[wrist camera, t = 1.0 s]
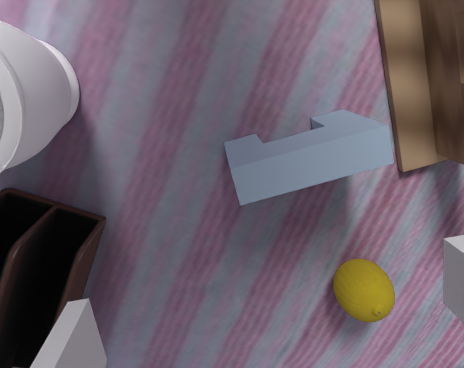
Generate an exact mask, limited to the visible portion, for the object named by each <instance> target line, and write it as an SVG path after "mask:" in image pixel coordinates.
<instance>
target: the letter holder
mask: <svg viewBox="0 0 464 368" xmlns="http://www.w3.org/2000/svg"><path fill="white" fill-rule="evenodd" d="M105 222H106V218H105V217H102V216H99V215H96V214H92V213H89V212H86V211H83V210H80V209H77V208H73V207H70V206H67V205H64V204H61V203H57V202H54V201H51V200H48V199H45V198H42V197H39V196H36V195H33V194H29V193H26V192H23V191H19V190H16V189H12V188H5V189H3V190H1V191H0V368H12V367H19V368H30V367H31V365H32V363H33V361H34V360H35V358H36V356H37V354H38V353H39V351H40V349H41V348H42V346H43V344H44V342H45V341H46V339H47V337H48V335H49V334H50V332H51V330H52V328H53V327H54V325H55V323H56V321H57V320H58V318H59V316H60V315H61V313H62V311H63V309H64V308H65V306H66V304H67V302H70V301H76V300H81V298H82V294H83V291H84V288H85V285H86V282H87V279H88V275H89V272H90V269H91V266H92V263H93V260H94V256H95V254H96V250H97V246H98V243H99V240H100V237H101V234H102V231H103V228H104V225H105Z"/></svg>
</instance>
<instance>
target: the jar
mask: <svg viewBox="0 0 464 368" xmlns="http://www.w3.org/2000/svg"><path fill="white" fill-rule="evenodd" d="M78 102H79V84H78V80H77V77H76V74H75V72H74V70H73V68H72V66H71V65H70V63H69V62H68V60H67V59H66V58H65V57H64V56H63V55H62V54H61V53H60V52H59V51H58V50H57V49H55V48H54V47H52V46H51V45H49V44H47V43H45V42H43V41H40V40H37V39H35V38H33V37H32V36H30V35H28V34H26V33H24V32H23V31H21V30H19V29H17V28H16V27H14V26H12V25H9V24H7V23H5V22H2V21H0V173H1V172H2V171H4V170H5V169H8V168H11V167H14V166H16V165H18V164H21V163H23V162H25V161H26V160H28V159H30V158H32V157H33V156H35V155H36V154H37V153H39V152H40V151H41V150H42V149H44V148H45V147H46V146H47V145H48V144H49V143H50V142H51V140H52V139H53V138H54V137H55V135H56V134H57V133H58V132H59V130H60V129H61V128H62V127H63V126H64V125H65V124H66V123H68V122H69V120H70V119H71V118H72V117H73V115H74V113H75V111H76V109H77V106H78Z"/></svg>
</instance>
